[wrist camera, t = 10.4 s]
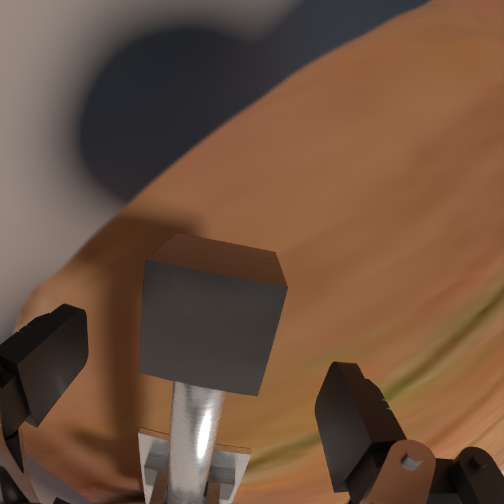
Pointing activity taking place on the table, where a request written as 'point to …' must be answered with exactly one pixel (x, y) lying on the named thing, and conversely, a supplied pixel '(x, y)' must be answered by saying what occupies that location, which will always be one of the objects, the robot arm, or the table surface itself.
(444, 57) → the table surface
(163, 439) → the bearing stand
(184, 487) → the shaft
